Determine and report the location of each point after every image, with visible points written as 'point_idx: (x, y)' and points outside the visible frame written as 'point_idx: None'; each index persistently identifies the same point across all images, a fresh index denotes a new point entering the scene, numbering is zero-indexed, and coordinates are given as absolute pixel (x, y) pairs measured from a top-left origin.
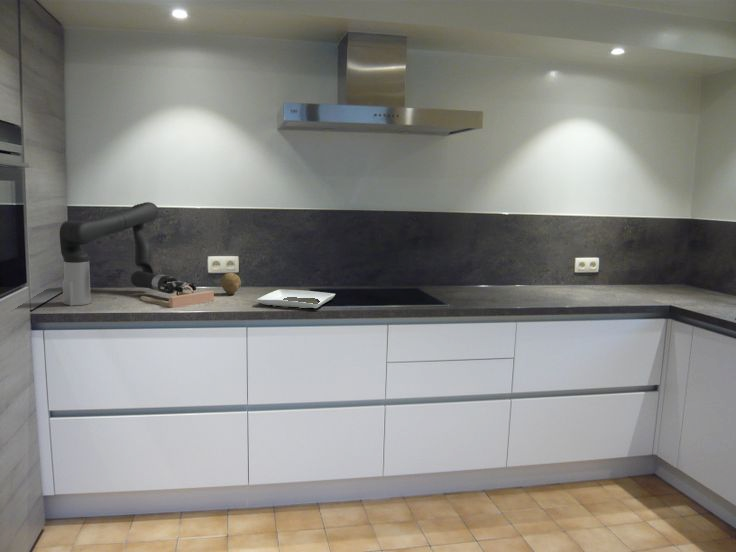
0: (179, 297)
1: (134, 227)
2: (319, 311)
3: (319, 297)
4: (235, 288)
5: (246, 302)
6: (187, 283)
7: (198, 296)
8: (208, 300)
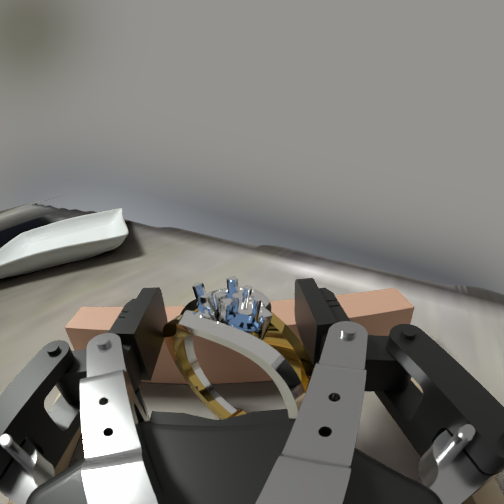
0: (349, 297)
1: None
2: None
3: (23, 245)
4: None
5: (84, 285)
6: (100, 366)
7: None
8: None
